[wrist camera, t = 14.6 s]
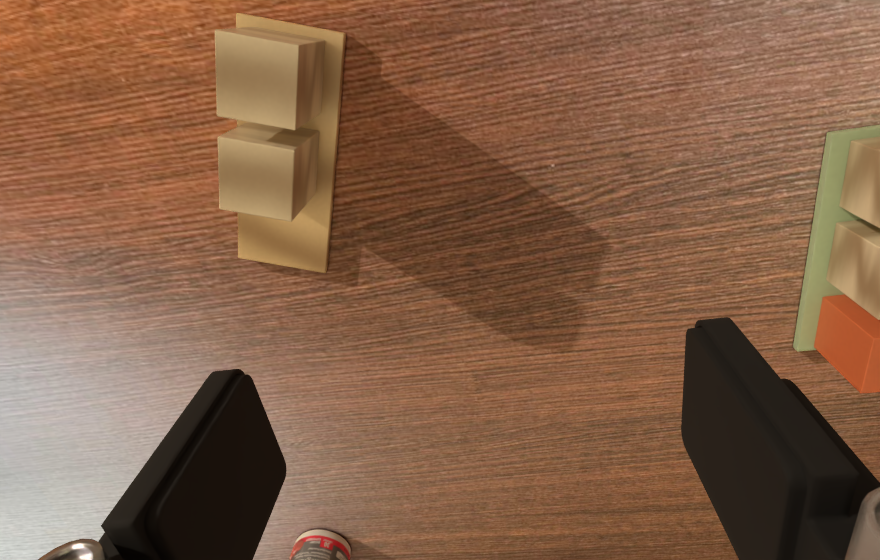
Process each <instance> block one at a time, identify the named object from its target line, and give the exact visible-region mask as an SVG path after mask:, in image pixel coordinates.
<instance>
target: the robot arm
mask: <svg viewBox="0 0 880 560" xmlns="http://www.w3.org/2000/svg"><path fill="white" fill-rule="evenodd" d="M681 432H682V439H683V443H684V446H685V448H686V450H687V452H688V455H689V457H690V459H691V461H692V463H693V465H694V467H695V469H696V471H697V473H698V475H699V477H700V479H701V481H702V484H703V486H704V488H705V490H706V492H707V494H708V496H709V498H710V500H711V502H712V504H713V506H714V508H715V511H716V513H717V515H718V517H719V519H720V521H721V523H722V525H723V527H724V529H725V531H726V533H727V535H728V537H729V540H730V542H731V544H732V546H733V548H734V550H735V552H736V554H737V556H738V558H739V560H880V483H879V481H878V480H877V479H876V478H875V477H874V476H873V474H872V473H871V472H870V471H869V470H868V469H867V467H866V466H865V465H864V464H863V463H862V462H861V460H860V459H859V458H858V457H857V456H856V455H855V453H854V452H853V451H852V450H851V449H850V448H849V446H848V445H847V444H846V443H845V442H844V441H843V439H842V438H841V437H840V436H839V435H838V434H837V432H836V431H835V430H834V429H833V428H832V427H831V425H830V424H829V423H828V422H827V421H826V420H825V418H824V417H823V416H822V415H821V414H820V413H819V411H818V410H817V409H816V408H815V407H814V406H813V404H812V403H811V402H810V401H809V400H808V399H807V397H806V396H805V395H804V394H803V393H802V392H801V390H800V389H799V388H798V387H797V386H796V385H795V384H794V383H793V382H792V381H790V380H788V379H780V377H779V376H778V375H777V374H776V373H775V371H774V370H773V369H772V368H771V367H770V365H769V364H768V363H767V362H766V361H765V359H764V358H763V357H762V356H761V355H760V353H759V352H758V351H757V350H756V349H755V347H754V346H753V345H752V344H751V343H750V341H749V340H748V339H747V338H746V337H745V335H744V334H743V333H742V332H741V331H740V329H739V328H738V327H737V326H736V325H735V323H734V322H733V321H732V320H731V319H730V318H727V317H725V318H716V319H706V320H698V321H697V322H696V324H695V328H690V329H688V330H687V332H686V346H685V366H684V386H683V406H682V425H681ZM285 476H286V463H285V460H284V457H283V455H282V452H281V450H280V447H279V445H278V442H277V440H276V437H275V435H274V432H273V430H272V427H271V425H270V422H269V420H268V417H267V415H266V412H265V410H264V407H263V405H262V402H261V400H260V397H259V395H258V392H257V390H256V387H255V384H254V382H253V380H252V378H251V376H249V375H245V374H244V372H243V371H242V370H240V369H233V370H223V371H215V372H212V373H211V374H210V375H209V377H208V378H207V379H206V381H205V382H204V384H203V385H202V386H201V388H200V389H199V391H198V392H197V393H196V395H195V396H194V397H193V399H192V400H191V402H190V403H189V404H188V406H187V407H186V409H185V410H184V411H183V413H182V414H181V415H180V417H179V418H178V420H177V421H176V422H175V424H174V425H173V427H172V428H171V429H170V431H169V432H168V433H167V435H166V436H165V438H164V439H163V440H162V442H161V443H160V445H159V446H158V447H157V449H156V450H155V451H154V453H153V454H152V456H151V457H150V458H149V460H148V461H147V463H146V464H145V465H144V467H143V468H142V470H141V471H140V472H139V474H138V475H137V476H136V478H135V479H134V481H133V482H132V483H131V485H130V486H129V488H128V489H127V490H126V492H125V493H124V494H123V496H122V497H121V499H120V500H119V501H118V503H117V504H116V506H115V507H114V508H113V510H112V511H111V512H110V514H109V515H108V517H107V518H106V519H105V521H104V522H103V524H102V525H101V527H102V528H103V530H104V531H105V533H104V534H103V536H102V537H101V539H100V540H99V542H97V541H95V540H93V539H79V540H75V541H71V542H68V543H66V544H64V545H61V546H59V547H57V548H55V549H53V550H52V551H50V552H49V553H47V554H45V555H44V556H42V557H41V558H40V559H38V560H252V559H253V557H254V554H255V552H256V550H257V547H258V545H259V542H260V540H261V537H262V535H263V532H264V530H265V527H266V525H267V522H268V520H269V517H270V515H271V512H272V510H273V507H274V505H275V502H276V500H277V497H278V495H279V492H280V490H281V487H282V485H283V482H284V480H285Z"/></svg>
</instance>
